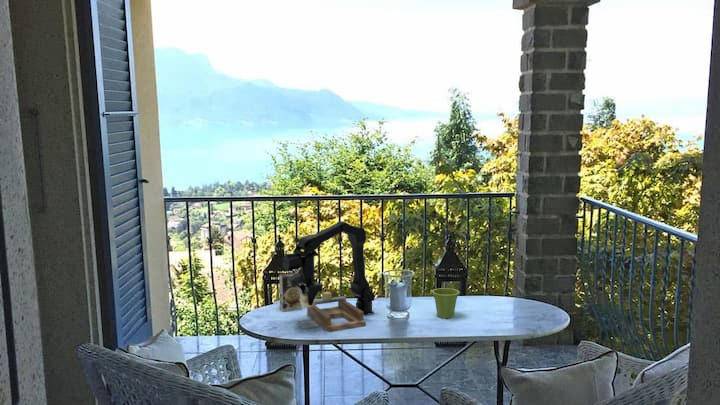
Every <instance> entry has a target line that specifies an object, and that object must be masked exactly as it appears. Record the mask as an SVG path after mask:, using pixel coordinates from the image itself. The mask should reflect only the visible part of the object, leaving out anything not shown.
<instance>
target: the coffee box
mask: <svg viewBox="0 0 720 405" xmlns="http://www.w3.org/2000/svg"><path fill="white" fill-rule="evenodd" d="M297 273H298V272H293V273H279V309H280V310H281V312H292V311H300V310H303V309H302V308H303V307H302V306H301V305H300V294H301V293H302V291H301V289H300V288H299V287H298V286H297V285H296V286H295V287H291V286H290V285H289V283H288V280H287V278H288V277H291V276H293V275H295V274H297Z"/></svg>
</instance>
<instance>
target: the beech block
mask: <svg viewBox="0 0 720 405" xmlns="http://www.w3.org/2000/svg"><path fill="white" fill-rule="evenodd" d="M316 300H317V299H316V297H315V299H314V301H313V303H312V305H309V303H308V296H307V293H301V294H300V305H301V306H302V308H304V309H307V308H310V307H316V306H317V305H316Z"/></svg>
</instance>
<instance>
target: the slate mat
mask: <svg viewBox="0 0 720 405" xmlns="http://www.w3.org/2000/svg"><path fill="white" fill-rule="evenodd" d="M296 325H297V326H299V327H300V328H301V329H302V330H307V329H313V328H318V327H321V326H320V325H319V324H318V323H317V322H315V321H314V320H308V321H307V320H306V321H300V322H296Z"/></svg>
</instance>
